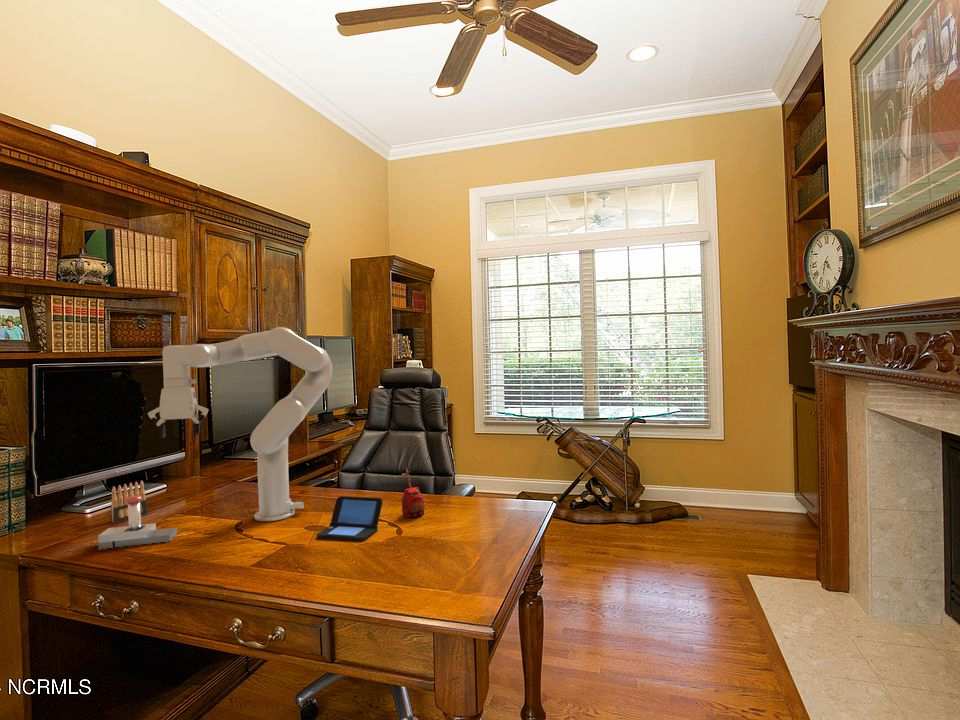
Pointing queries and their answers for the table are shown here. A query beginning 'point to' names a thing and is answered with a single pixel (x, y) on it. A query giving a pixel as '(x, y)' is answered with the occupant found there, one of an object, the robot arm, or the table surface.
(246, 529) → the table surface
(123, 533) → the chain link
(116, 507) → the ammunition clip
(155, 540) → the chain link
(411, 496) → the red clay folk toy
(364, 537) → the game console
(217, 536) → the table surface
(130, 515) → the pin
